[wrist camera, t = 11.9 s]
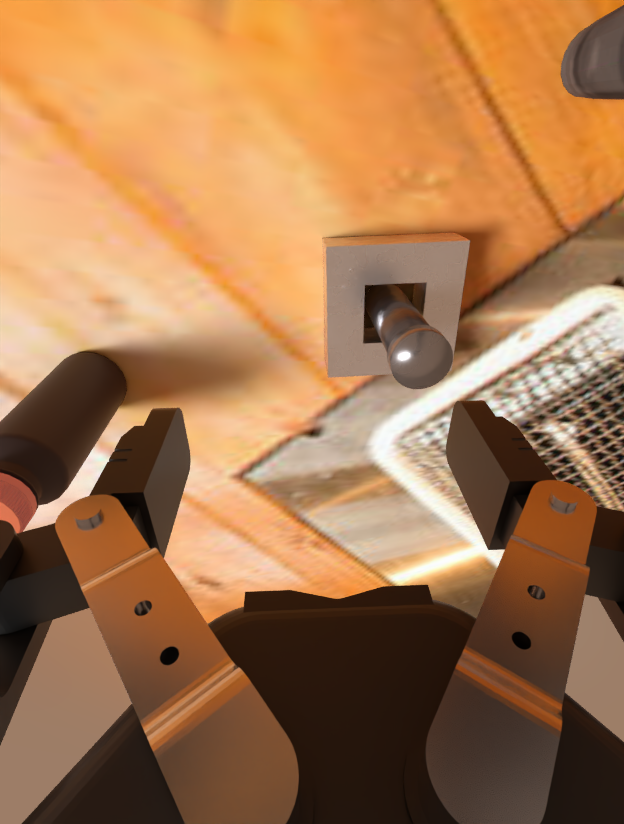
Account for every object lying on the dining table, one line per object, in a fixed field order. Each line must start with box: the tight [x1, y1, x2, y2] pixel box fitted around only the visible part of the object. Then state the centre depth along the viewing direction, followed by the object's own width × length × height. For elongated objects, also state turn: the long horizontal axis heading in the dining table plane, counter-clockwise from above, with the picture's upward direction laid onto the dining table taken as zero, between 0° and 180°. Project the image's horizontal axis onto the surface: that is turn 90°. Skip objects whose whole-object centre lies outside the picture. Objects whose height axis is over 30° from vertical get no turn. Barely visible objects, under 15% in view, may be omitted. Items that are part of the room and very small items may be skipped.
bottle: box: [0, 352, 127, 533], centre depth 37 cm, size 7×7×20 cm
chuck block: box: [323, 232, 470, 377], centre depth 41 cm, size 12×12×4 cm
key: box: [365, 284, 453, 389], centre depth 37 cm, size 4×4×14 cm
